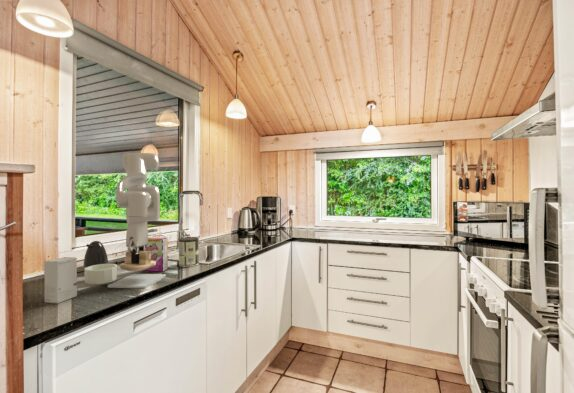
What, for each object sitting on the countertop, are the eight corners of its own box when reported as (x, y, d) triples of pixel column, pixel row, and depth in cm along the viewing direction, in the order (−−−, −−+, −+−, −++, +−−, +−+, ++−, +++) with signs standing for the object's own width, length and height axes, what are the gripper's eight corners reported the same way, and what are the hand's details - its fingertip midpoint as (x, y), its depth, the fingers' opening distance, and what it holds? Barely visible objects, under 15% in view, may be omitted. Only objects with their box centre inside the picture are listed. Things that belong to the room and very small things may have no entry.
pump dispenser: (77, 274, 145) (77, 242, 145) (95, 268, 155) (94, 238, 155) (96, 275, 143) (96, 243, 143) (113, 269, 153) (112, 239, 153)
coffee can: (190, 261, 171) (190, 236, 171) (202, 264, 166) (202, 238, 165) (174, 265, 163) (174, 238, 163) (187, 268, 157) (186, 240, 157)
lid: (132, 264, 141) (132, 248, 141) (161, 264, 140) (161, 248, 140) (112, 272, 127) (112, 254, 127) (145, 272, 126) (145, 255, 126)
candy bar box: (141, 271, 150) (140, 238, 150) (146, 269, 155) (146, 236, 155) (163, 272, 149) (162, 238, 149) (168, 269, 154) (167, 236, 154)
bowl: (97, 276, 142) (97, 263, 142) (122, 277, 141) (122, 263, 141) (78, 284, 130) (78, 270, 130) (105, 285, 129) (105, 270, 129)
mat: (132, 275, 144) (132, 273, 144) (165, 276, 142) (165, 274, 142) (107, 287, 126) (107, 285, 126) (145, 288, 124) (145, 286, 124)
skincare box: (57, 304, 108) (56, 261, 107) (43, 302, 109) (42, 260, 108) (78, 295, 116) (77, 256, 115) (64, 294, 117) (64, 255, 117)
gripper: (140, 218, 142) (140, 258, 142) (117, 222, 125) (118, 266, 126) (155, 218, 141) (156, 258, 142) (135, 222, 125) (135, 267, 125)
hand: (138, 261), depth 134 cm, fingers closed on lid, 4 cm apart
